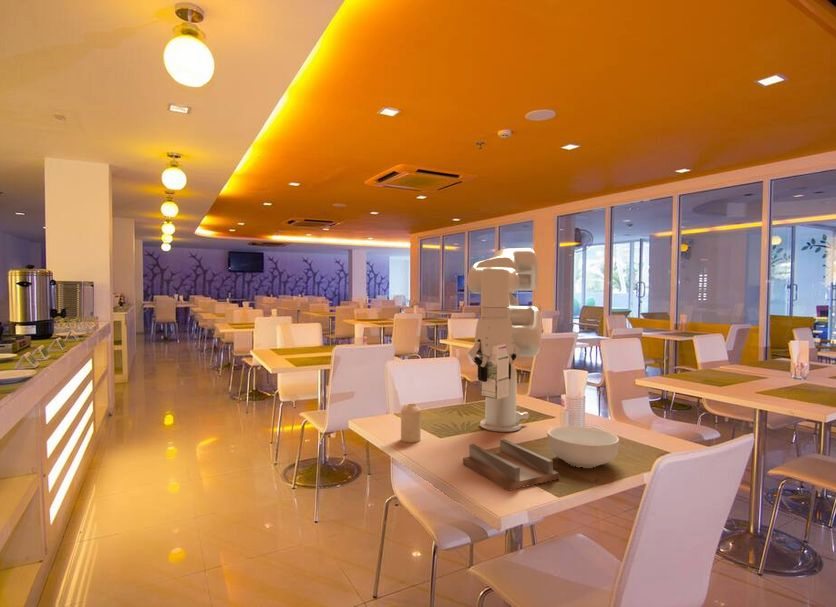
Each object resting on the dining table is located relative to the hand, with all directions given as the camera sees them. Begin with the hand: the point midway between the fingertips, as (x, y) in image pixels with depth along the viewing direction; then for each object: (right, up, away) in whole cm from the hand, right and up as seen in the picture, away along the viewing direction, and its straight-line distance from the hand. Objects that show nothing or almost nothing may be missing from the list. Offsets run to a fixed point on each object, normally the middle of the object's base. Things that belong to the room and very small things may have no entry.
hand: (494, 379), depth 134 cm
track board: (+1, -19, -17) cm, 26 cm away
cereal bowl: (+20, -19, -11) cm, 30 cm away
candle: (-23, -18, +7) cm, 30 cm away
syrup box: (0, -5, 0) cm, 5 cm away
